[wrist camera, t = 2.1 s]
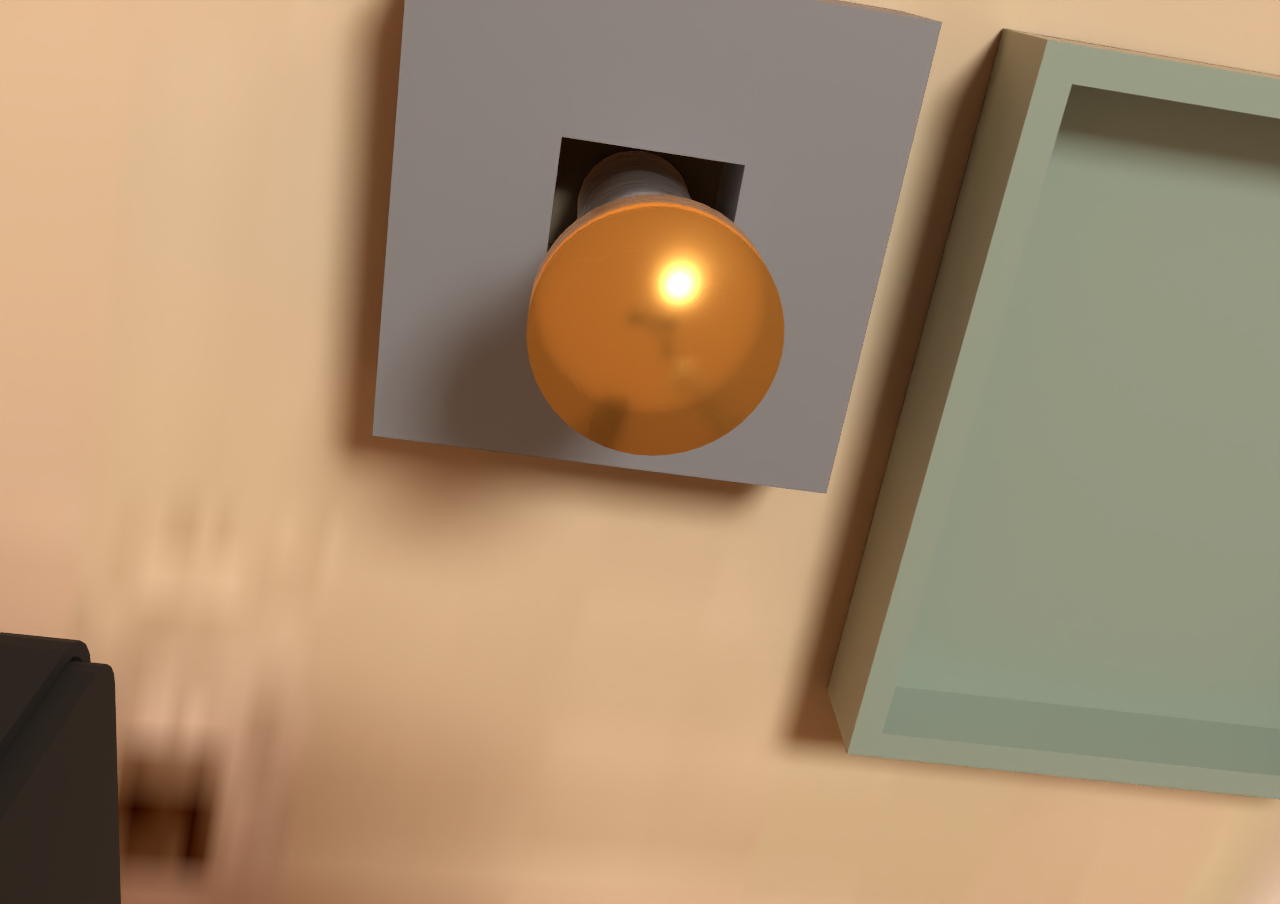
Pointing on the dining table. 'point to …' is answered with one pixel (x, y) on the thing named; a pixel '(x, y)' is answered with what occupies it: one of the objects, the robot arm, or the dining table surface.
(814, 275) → the grey square hole block
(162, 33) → the dining table surface
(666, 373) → the orange knob peg
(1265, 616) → the tray
